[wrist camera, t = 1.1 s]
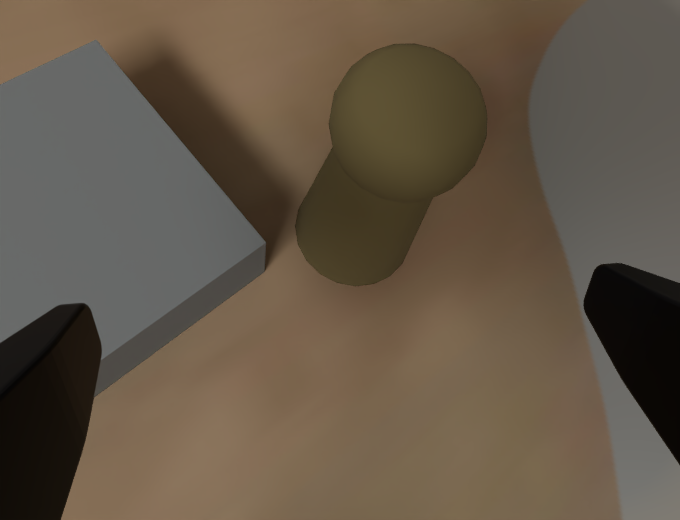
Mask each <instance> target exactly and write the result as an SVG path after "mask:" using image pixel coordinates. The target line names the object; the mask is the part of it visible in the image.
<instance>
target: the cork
mask: <svg viewBox="0 0 680 520" xmlns="http://www.w3.org/2000/svg"><path fill="white" fill-rule="evenodd" d="M329 129H330V134H331V139H332V145H333V148H332V149H331V151H330V153H329V155H328V157H327V159H326V160H325V162H324V164H323V166H322V168H321V170H320V171H319V173H318V175H317V177H316V179H315V180H314V182H313V184H312V186H311V188H310V190H309V191H308V193H307V195H306V197H305V199H304V201H303V202H302V204H301V206H300V208H299V210H298V215H297V220H296V225H295V228H296V235H297V241H298V245H299V247H300V249H301V251H302V253H303V255H304V257H305V259H306V260H307V261H308V262H309V263H310V264H311V265H312V266H313V267H314V268H315V269H316V270H317V271H318V272H319V273H320V274H321V275H323V276H325V277H327V278H329V279H331V280H333V281H335V282H337V283H341V284H347V285H352V286H360V285H368V284H374V283H377V282H379V281H381V280H383V279H385V278H387V277H389V276H390V275H391V274H392V273H393V272H394V271H395V270H396V269H397V268H398V267H399V266H400V265H401V264H402V263H403V261H404V258H405V256H406V254H407V252H408V250H409V248H410V245H411V243H412V241H413V239H414V237H415V235H416V233H417V230H418V228H419V226H420V224H421V222H422V220H423V217H424V215H425V213H426V211H427V209H428V207H429V205H430V202H431V200H432V198H433V197H435V196H437V195H440V194H442V193H444V192H446V191H448V190H450V189H452V188H453V187H454V186H455V185H456V184H457V183H458V182H459V181H460V180H461V179H462V178H463V177H464V176H465V175H467V173H468V172H469V171H470V170H471V169H472V168H473V167H474V166H475V163H476V161H477V159H478V157H479V154H480V152H481V150H482V147H483V145H484V142H485V139H486V135H487V112H486V106H485V103H484V100H483V96H482V93H481V90H480V88H479V86H478V85H477V83H476V82H475V80H474V79H473V77H472V76H471V74H470V73H469V72H468V71H467V70H466V69H465V68H464V67H463V66H462V65H460V64H459V63H458V62H457V61H456V60H455V59H454V58H452V57H450V56H448V55H446V54H444V53H442V52H440V51H438V50H436V49H434V48H430V47H426V46H422V45H418V44H393V45H390V46H387V47H383V48H380V49H377V50H375V51H373V52H371V53H369V54H367V55H366V56H365V57H363V58H362V59H361V60H359V61H358V62H357V63H355V64H354V65H353V66H351V68H350V69H349V71H348V72H347V74H346V75H345V77H344V78H343V80H342V82H341V83H340V85H339V86H338V88H337V90H336V91H335V93H334V98H333V103H332V108H331V114H330V120H329Z"/></svg>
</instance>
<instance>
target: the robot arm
mask: <svg viewBox="0 0 680 520" xmlns="http://www.w3.org/2000/svg"><path fill="white" fill-rule="evenodd" d="M584 310H585V313H586V315H587V317H588V319H589V321H590V323H591V324H592V326H593V328H594V330H595V332H596V333H597V335H598V337H599V339H600V341H601V343H602V345H603V346H604V348H605V350H606V352H607V354H608V356H609V357H610V359H611V361H612V363H613V365H614V366H615V368H616V370H617V372H618V374H619V375H620V377H621V379H622V380H623V382H624V383H625V385H626V387H627V388H628V390H629V391H630V393H631V394H632V396H633V397H634V399H635V400H636V402H637V403H638V404H639V406H640V407H641V409H642V410H643V412H644V413H645V414H646V416H647V417H648V419H649V421H650V422H651V424H652V425H653V426H654V428H655V429H656V431H657V432H658V434H659V435H660V437H661V438H662V440H663V441H664V442H665V444H666V446H667V447H668V448H669V449H670V451H671V453H672V454H673V456H674V457H675V459H676V460H677V462H678V463H679V465H680V283H678V282H675V281H672V280H669V279H666V278H663V277H660V276H657V275H654V274H652V273H649V272H646V271H643V270H640V269H637V268H634V267H631V266H628V265H625V264H622V263H612V264H601V265H599V266H598V267H596V269H595V270H594V272H593V275H592V278H591V281H590V283H589V287H588V289H587V292H586V295H585V298H584ZM101 357H102V345H101V340H100V337H99V334H98V331H97V327H96V324H95V321H94V318H93V314H92V311H91V309H90V307H89V306H88V305H87V304H85V303H72V304H61V305H58V306H56V307H54V308H53V309H51V310H50V311H48V312H47V313H45V314H44V315H42V316H40V317H39V318H37V319H36V320H34V321H33V322H31V323H30V324H28V325H27V326H25V327H24V328H22V329H21V330H19V331H17V332H16V333H14V334H13V335H11V336H10V337H8V338H7V339H5V340H4V341H2V342H1V343H0V520H61V517H62V514H63V511H64V508H65V505H66V502H67V498H68V495H69V492H70V489H71V486H72V483H73V479H74V476H75V473H76V470H77V467H78V464H79V461H80V457H81V454H82V451H83V447H84V444H85V440H86V436H87V431H88V426H89V421H90V416H91V410H92V405H93V400H94V394H95V389H96V384H97V378H98V373H99V368H100V362H101Z"/></svg>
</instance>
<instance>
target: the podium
mask: <svg viewBox="0 0 680 520" xmlns="http://www.w3.org/2000/svg"><path fill="white" fill-rule="evenodd" d="M265 253H266V242H265V241H264V240H263V238H262V237H261V236H260V235H259V234H258V232H257V231H256V230H255V229H254V228H253V226H252V225H251V224H250V223H249V222H248V220H247V219H246V218H245V217H244V216H243V214H242V213H241V212H240V211H239V210H238V209H237V207H236V206H235V205H234V204H233V203H232V201H231V200H230V199H229V198H228V197H227V195H226V194H225V193H224V192H223V191H222V189H221V188H220V187H219V186H218V185H217V183H216V182H215V181H214V180H213V179H212V177H211V176H210V175H209V174H208V173H207V171H206V170H205V169H204V168H203V167H202V166H201V164H200V163H199V162H198V161H197V160H196V158H195V157H194V156H193V155H192V154H191V152H190V151H189V150H188V149H187V148H186V146H185V145H184V144H183V143H182V142H181V140H180V139H179V138H178V137H177V136H176V134H175V133H174V132H173V131H172V130H171V128H170V127H169V126H168V125H167V124H166V123H165V121H164V120H163V119H162V118H161V117H160V115H159V114H158V113H157V112H156V111H155V109H154V108H153V107H152V106H151V105H150V103H149V102H148V101H147V100H146V99H145V97H144V96H143V95H142V94H141V93H140V91H139V90H138V89H137V88H136V87H135V86H134V84H133V83H132V82H131V81H130V80H129V78H128V77H127V76H126V75H125V74H124V72H123V71H122V70H121V69H120V68H119V66H118V65H117V64H116V63H115V62H114V60H113V59H112V58H111V57H110V56H109V54H108V53H107V52H106V51H105V50H104V48H103V47H102V46H101V45H100V44H99V43H98V41H97V40H94V41H92V42H90V43H88V44H86V45H84V46H82V47H79V48H77V49H75V50H73V51H71V52H69V53H67V54H64V55H62V56H60V57H58V58H56V59H54V60H52V61H50V62H47V63H45V64H43V65H41V66H39V67H37V68H35V69H32V70H30V71H28V72H26V73H24V74H22V75H20V76H18V77H15V78H13V79H11V80H9V81H7V82H5V83H3V84H1V85H0V343H1V342H2V341H4V340H5V339H7V338H8V337H10V336H11V335H13V334H14V333H16V332H17V331H19V330H21V329H22V328H24V327H25V326H27V325H28V324H30V323H31V322H33V321H34V320H36V319H37V318H39V317H40V316H42V315H44V314H45V313H47V312H48V311H50V310H51V309H53V308H54V307H56V306H58V305H61V304H72V303H85V304H87V305H88V306H89V307H90V309H91V311H92V314H93V318H94V321H95V324H96V327H97V331H98V334H99V337H100V340H101V345H102V357H101V362H100V368H99V373H98V378H97V384H96V389H95V394H94V397H95V396H97V395H98V394H99V393H101V392H102V391H103V390H105V389H106V388H107V387H109V386H110V385H112V384H113V383H114V382H116V381H117V380H118V379H120V378H121V377H122V376H124V375H125V374H126V373H128V372H129V371H130V370H132V369H133V368H135V367H136V366H137V365H139V364H140V363H141V362H143V361H144V360H145V359H147V358H148V357H149V356H151V355H152V354H154V353H155V352H156V351H158V350H159V349H160V348H162V347H163V346H164V345H166V344H167V343H168V342H170V341H171V340H173V339H174V338H175V337H177V336H178V335H179V334H181V333H182V332H183V331H185V330H186V329H187V328H189V327H190V326H192V325H193V324H194V323H196V322H197V321H198V320H200V319H201V318H202V317H204V316H205V315H206V314H208V313H209V312H211V311H212V310H213V309H215V308H216V307H217V306H219V305H220V304H221V303H223V302H224V301H225V300H227V299H228V298H230V297H231V296H232V295H234V294H235V293H236V292H238V291H239V290H240V289H242V288H243V287H244V286H246V285H247V284H249V283H250V282H251V281H253V280H254V279H255V278H257V277H258V276H259V275H261V274H262V273H263V272H264V271H265Z"/></svg>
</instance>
